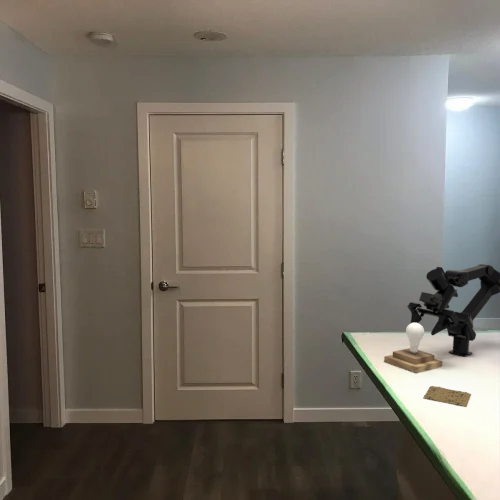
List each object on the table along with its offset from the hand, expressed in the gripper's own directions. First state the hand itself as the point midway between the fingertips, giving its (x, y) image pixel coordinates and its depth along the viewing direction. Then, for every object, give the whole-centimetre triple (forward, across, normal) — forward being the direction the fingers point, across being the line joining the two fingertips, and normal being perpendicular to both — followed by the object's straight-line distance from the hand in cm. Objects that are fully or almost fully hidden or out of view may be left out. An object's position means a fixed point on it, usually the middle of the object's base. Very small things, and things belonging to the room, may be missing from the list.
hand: (420, 331), depth 179 cm
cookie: (+22, +25, -5) cm, 34 cm away
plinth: (+10, 0, +6) cm, 12 cm away
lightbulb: (+8, 0, +3) cm, 8 cm away
